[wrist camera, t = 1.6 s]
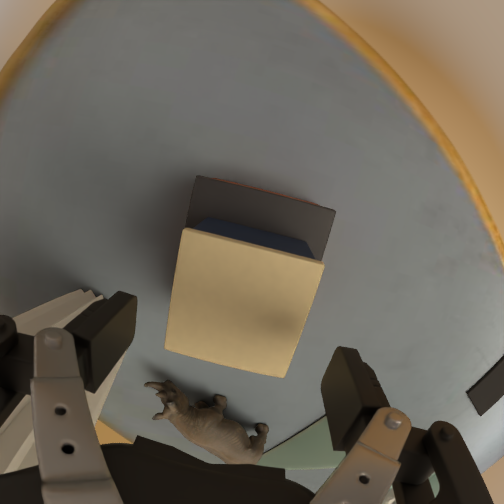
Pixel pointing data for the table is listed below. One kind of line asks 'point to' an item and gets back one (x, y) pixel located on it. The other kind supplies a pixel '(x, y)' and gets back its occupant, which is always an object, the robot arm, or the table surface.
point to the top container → (241, 296)
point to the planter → (305, 450)
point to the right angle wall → (390, 500)
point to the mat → (488, 388)
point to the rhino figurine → (210, 426)
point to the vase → (20, 421)
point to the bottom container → (261, 211)
